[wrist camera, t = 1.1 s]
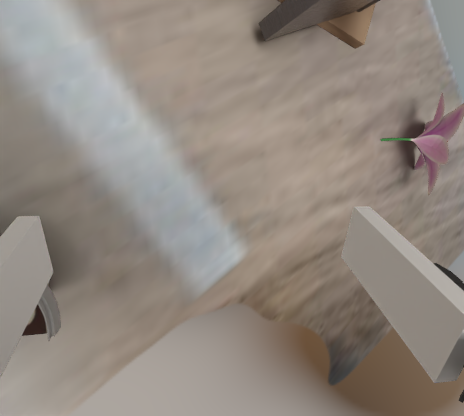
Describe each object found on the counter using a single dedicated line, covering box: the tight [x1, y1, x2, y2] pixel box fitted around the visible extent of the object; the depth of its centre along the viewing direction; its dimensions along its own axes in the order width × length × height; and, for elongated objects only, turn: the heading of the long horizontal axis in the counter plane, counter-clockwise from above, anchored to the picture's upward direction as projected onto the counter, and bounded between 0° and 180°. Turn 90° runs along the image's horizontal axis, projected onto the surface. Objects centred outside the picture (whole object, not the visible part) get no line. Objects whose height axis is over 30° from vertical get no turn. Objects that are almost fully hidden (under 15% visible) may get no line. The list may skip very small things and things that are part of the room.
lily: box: [381, 93, 464, 195], centre depth 43 cm, size 12×12×10 cm
